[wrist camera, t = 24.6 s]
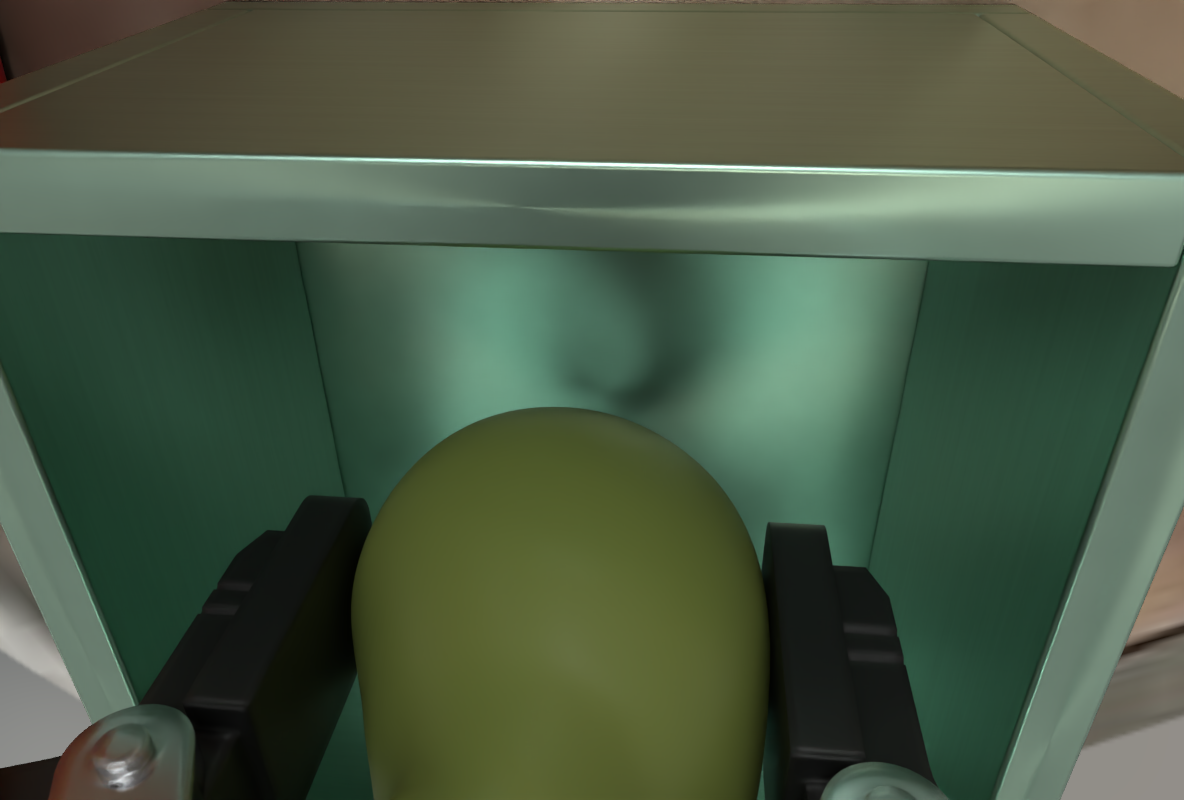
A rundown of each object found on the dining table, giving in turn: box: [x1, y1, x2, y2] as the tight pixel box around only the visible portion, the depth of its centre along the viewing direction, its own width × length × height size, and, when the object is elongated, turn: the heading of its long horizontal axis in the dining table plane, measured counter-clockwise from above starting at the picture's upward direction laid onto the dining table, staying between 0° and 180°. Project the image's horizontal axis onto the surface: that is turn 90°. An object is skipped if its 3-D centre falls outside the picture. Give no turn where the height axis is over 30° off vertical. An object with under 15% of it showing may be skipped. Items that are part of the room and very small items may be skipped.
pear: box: [351, 407, 770, 800], centre depth 10 cm, size 6×5×10 cm
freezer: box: [0, 1, 1184, 800], centre depth 16 cm, size 15×14×9 cm
